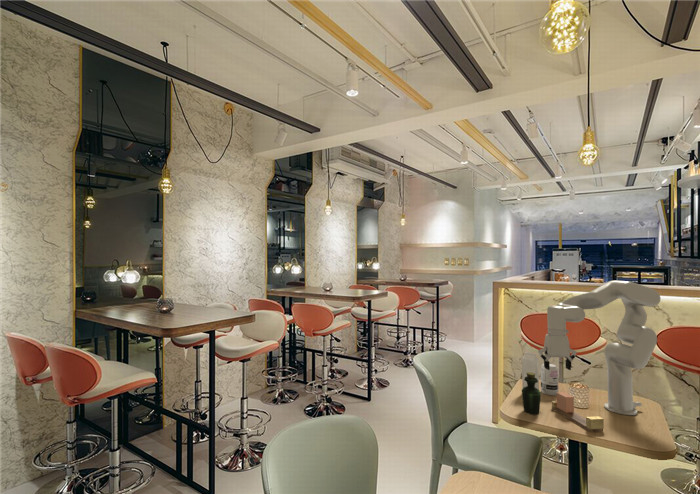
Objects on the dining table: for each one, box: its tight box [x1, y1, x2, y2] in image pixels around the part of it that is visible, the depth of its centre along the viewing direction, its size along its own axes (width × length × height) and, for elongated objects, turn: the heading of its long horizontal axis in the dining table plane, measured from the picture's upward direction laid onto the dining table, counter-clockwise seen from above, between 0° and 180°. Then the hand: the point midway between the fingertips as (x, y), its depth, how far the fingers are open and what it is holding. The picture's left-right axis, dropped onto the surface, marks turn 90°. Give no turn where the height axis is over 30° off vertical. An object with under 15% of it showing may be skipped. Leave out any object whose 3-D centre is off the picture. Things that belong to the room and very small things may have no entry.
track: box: [551, 400, 604, 433], centre depth 159 cm, size 6×23×4 cm, turn 7°
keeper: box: [556, 391, 575, 413], centre depth 165 cm, size 4×6×7 cm, turn 7°
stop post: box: [585, 415, 605, 430], centre depth 148 cm, size 6×2×4 cm, turn 97°
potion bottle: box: [521, 372, 542, 416], centre depth 166 cm, size 8×8×18 cm
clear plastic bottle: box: [521, 351, 540, 390], centre depth 189 cm, size 6×6×22 cm
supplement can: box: [540, 362, 559, 396], centre depth 190 cm, size 8×8×15 cm
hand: (557, 369), depth 165 cm, fingers open, 9 cm apart
